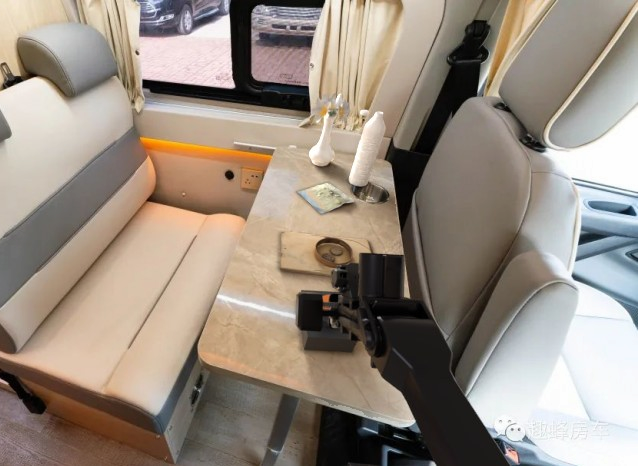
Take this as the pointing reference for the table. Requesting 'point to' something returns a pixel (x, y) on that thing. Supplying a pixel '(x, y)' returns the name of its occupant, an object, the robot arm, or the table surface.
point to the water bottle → (367, 149)
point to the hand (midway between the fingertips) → (338, 305)
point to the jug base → (327, 335)
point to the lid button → (325, 300)
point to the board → (319, 252)
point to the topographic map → (325, 197)
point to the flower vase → (327, 126)
